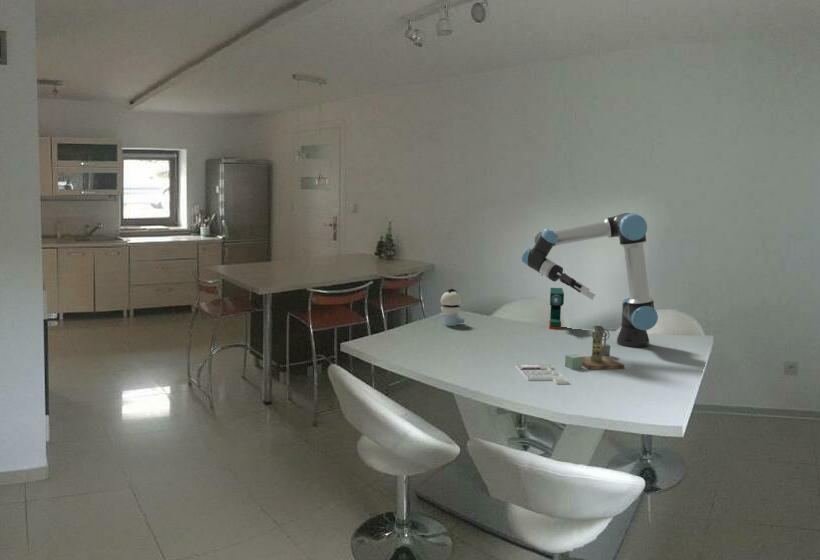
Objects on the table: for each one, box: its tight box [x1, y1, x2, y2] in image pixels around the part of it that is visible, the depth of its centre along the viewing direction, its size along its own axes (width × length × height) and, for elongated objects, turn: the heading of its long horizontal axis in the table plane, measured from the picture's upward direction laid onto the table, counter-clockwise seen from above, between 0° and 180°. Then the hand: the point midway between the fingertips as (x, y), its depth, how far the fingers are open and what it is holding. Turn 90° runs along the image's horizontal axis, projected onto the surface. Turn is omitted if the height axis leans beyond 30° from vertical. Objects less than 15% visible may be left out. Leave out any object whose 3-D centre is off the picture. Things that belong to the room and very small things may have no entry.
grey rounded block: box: [599, 343, 611, 357], centre depth 309 cm, size 6×6×5 cm
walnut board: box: [581, 355, 625, 371], centre depth 294 cm, size 16×16×2 cm
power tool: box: [548, 287, 565, 330], centre depth 369 cm, size 32×7×20 cm, turn 168°
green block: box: [564, 353, 583, 370], centre depth 288 cm, size 5×5×5 cm
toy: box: [439, 288, 465, 327], centre depth 375 cm, size 16×13×20 cm
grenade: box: [590, 325, 611, 362], centre depth 293 cm, size 7×7×15 cm
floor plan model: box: [515, 363, 570, 385], centre depth 276 cm, size 15×25×2 cm, turn 5°
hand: (590, 294), depth 305 cm, fingers open, 13 cm apart
